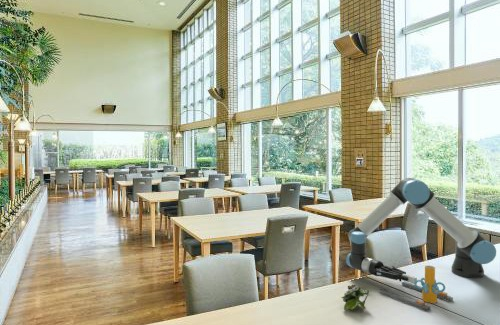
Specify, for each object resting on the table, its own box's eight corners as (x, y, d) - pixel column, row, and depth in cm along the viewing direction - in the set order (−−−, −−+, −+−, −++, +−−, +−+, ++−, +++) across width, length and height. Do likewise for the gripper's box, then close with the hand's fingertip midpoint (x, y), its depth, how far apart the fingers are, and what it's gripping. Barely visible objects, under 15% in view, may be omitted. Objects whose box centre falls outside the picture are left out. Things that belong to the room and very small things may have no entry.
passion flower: (351, 316, 161) (359, 290, 166) (370, 321, 152) (378, 293, 156) (333, 306, 157) (342, 279, 162) (352, 310, 148) (361, 282, 152)
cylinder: (449, 305, 159) (450, 270, 158) (427, 307, 157) (428, 272, 156) (431, 294, 171) (431, 262, 170) (410, 295, 169) (411, 263, 168)
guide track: (379, 292, 173) (379, 287, 173) (404, 284, 184) (404, 279, 183) (427, 311, 153) (428, 305, 153) (452, 300, 163) (453, 295, 163)
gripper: (381, 271, 191) (424, 286, 171) (364, 276, 184) (406, 292, 164) (381, 257, 191) (424, 270, 171) (364, 261, 184) (406, 275, 164)
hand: (415, 280), depth 167 cm, fingers closed
